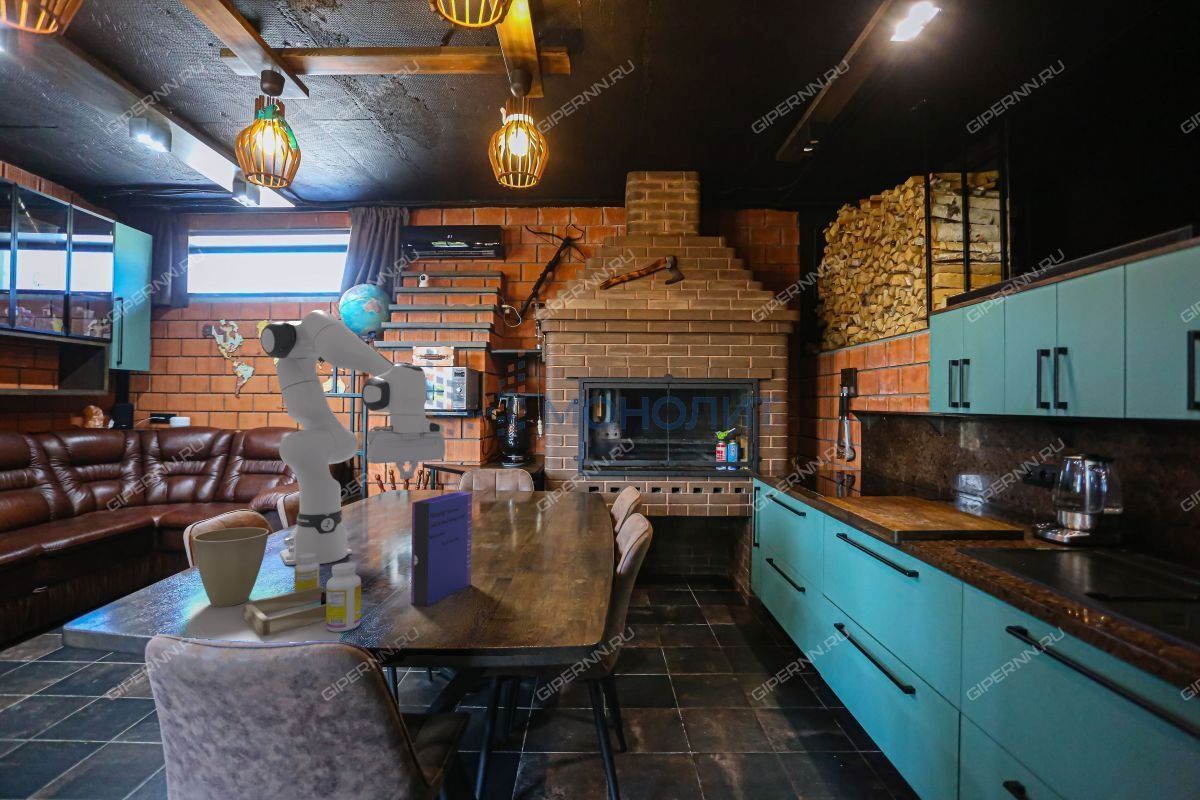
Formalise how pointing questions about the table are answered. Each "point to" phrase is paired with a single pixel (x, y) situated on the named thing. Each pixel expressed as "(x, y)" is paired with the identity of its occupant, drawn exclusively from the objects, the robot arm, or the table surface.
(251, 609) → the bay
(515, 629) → the table surface
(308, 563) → the supplement bottle
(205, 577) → the plant pot
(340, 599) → the supplement bottle
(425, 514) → the purple book
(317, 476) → the robot arm
